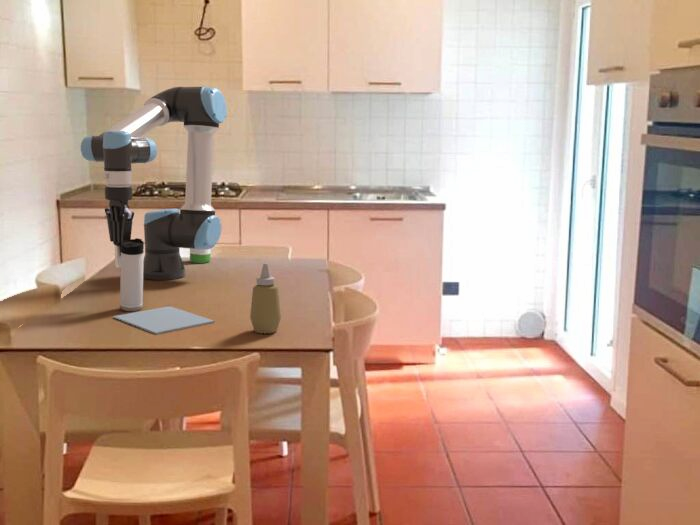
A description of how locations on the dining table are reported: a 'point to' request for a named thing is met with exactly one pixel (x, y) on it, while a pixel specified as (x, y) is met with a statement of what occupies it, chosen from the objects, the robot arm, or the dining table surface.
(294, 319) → the dining table surface
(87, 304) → the dining table surface
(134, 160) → the robot arm
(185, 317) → the mat
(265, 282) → the squeeze bottle
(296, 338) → the dining table surface
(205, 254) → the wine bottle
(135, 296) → the travel mug
